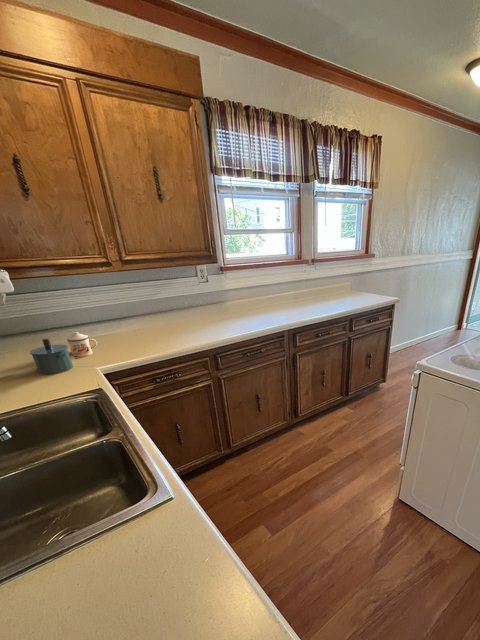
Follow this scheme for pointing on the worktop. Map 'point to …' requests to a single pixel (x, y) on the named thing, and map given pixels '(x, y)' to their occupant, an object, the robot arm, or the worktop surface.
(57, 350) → the lid
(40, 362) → the tin
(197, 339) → the worktop surface
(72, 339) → the teacup with lid
